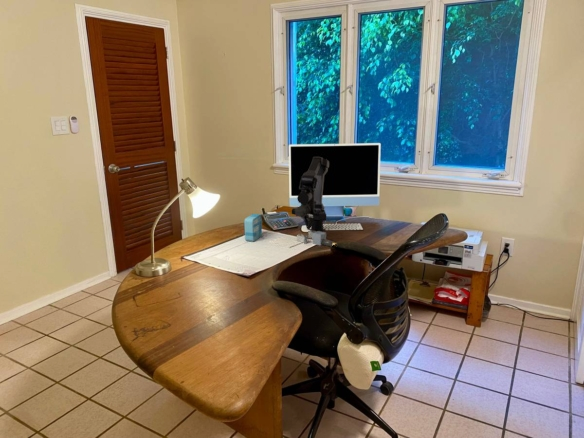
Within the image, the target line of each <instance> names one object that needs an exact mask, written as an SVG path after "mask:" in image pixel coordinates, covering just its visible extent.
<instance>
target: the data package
mask: <svg viewBox="0 0 584 438" xmlns="http://www.w3.org/2000/svg"><path fill="white" fill-rule="evenodd" d="M262 226H263V225H262V215H261V214H260V213H258V214H257V213H252V214H250V215H249V216H247V217H245V218H244V239H245V242H256V241H257V240H258V239H259V238H261V236H262V234H263V232H262V228H263V227H262Z"/></svg>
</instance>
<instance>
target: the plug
mask: <svg viewBox="0 0 584 438" xmlns="http://www.w3.org/2000/svg"><path fill="white" fill-rule="evenodd" d="M312 244H314V245H317V246H323V245H324V246H326V247H329V248H330V247H331V248H333V247H332V246H333V245H335V244H337V242H335V241H334V240H329V239H327V232H324V231H317V232H314V233H313V239H312Z"/></svg>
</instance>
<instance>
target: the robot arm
mask: <svg viewBox="0 0 584 438" xmlns="http://www.w3.org/2000/svg"><path fill="white" fill-rule="evenodd" d="M329 168H330V161H329V160H328V159H327V158H324V157H321V156H313V157H312V159H311V163H310V165H309V168H308V170H307V171H305V172H304V173H303V174H302V176H301V177H300V181H299V186H298V190H300V193H298V194H297V196H296V198H297V199H296V200H297V202H298V203H299V204H300V206H295V207H293V208H292V209H291V214H292V215H294V216H295V217H300V218H301V219H302V220H303V221H304V225H305V227H306V230H308V231H310V230H313V231H321V232H324V231H326V228H324V221H327V213H326V210H325V206H324V204H323V194H324V193H323V192H324V183H325V175H326V174H327V173H328V171H329Z"/></svg>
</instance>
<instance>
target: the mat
mask: <svg viewBox="0 0 584 438" xmlns="http://www.w3.org/2000/svg"><path fill="white" fill-rule="evenodd" d="M269 243H271V244H276V245H277V246H279V245H280V246H282V247H286V248H289V249H290V248H293V247H296V246H299V245H300V244H303V243H302V242H298V241H297V240H293V239H291V238H287V237H283V236H281V237H278V238H274V239H271V240H269ZM298 244H299V245H298Z"/></svg>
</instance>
